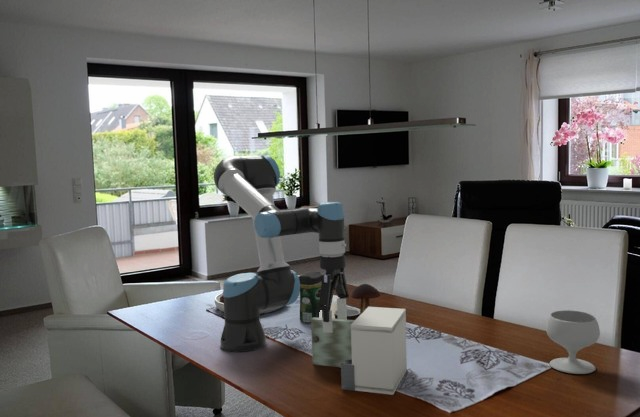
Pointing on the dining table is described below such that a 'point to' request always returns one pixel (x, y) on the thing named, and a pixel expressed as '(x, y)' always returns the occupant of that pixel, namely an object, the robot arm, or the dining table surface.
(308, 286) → the coffee jar
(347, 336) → the cabinet door
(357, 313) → the coffee mug
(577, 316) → the chalice
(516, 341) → the dining table surface
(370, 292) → the decorative mushroom
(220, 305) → the bowl
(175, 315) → the dining table surface
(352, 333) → the cabinet
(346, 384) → the hinge clip
